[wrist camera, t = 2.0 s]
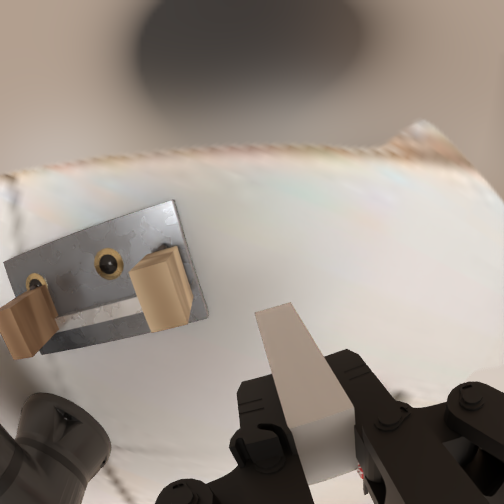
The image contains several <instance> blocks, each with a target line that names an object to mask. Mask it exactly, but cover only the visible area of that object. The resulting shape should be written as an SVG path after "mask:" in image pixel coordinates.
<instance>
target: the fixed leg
mask: <svg viewBox="0 0 504 504" xmlns="http://www.w3.org/2000/svg"><path fill="white" fill-rule="evenodd" d="M57 316H58V313H57V311H56V308H55V306H54V303H53V301H52V298H51V296H50V293H49V291H48V289H47V287H46V284H45V285H42V286H39V287H38V285H36V284H34V285H33V286H31V287H30V290H27V291H26V292H24V293H23V294H21V295H19V296H18V297H16V298H15V299H13V300H12V301H10V302H9V303H7V304H6V305H4V306H2V307H1V308H0V333H1V335H2V337H3V339H4V341H5V343H6V345H7V347H8V350H9V351H10V353H11V355H12V357H13V359H14V360H17V359H23V358H30V357H33V356H34V355H35V354H36V353H37V352H38V351H39V350H40V349H41V348H42V347H43V346H44V345H45V344H46V342H47V341H48V340H49V339H50V338H51V337H52V336H53V335H54V334H55V333H56V332H57V331H58V330H59V328H58V325H57V323H56V321H55V318H56V317H57Z"/></svg>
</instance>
